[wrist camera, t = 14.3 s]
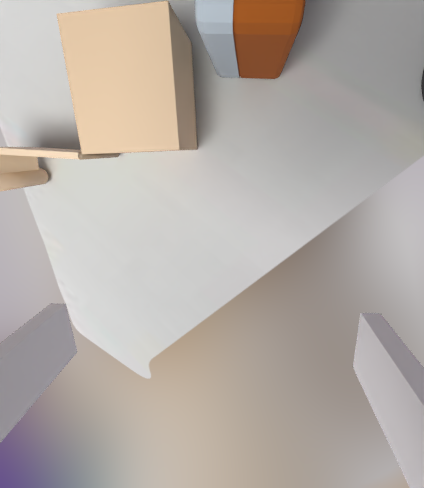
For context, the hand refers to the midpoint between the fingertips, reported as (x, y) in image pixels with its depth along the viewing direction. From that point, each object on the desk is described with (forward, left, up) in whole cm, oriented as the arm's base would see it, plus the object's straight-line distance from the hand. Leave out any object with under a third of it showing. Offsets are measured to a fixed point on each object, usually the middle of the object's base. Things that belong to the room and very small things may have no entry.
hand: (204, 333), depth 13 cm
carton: (+12, -15, -35) cm, 40 cm away
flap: (+26, -6, -34) cm, 43 cm away
